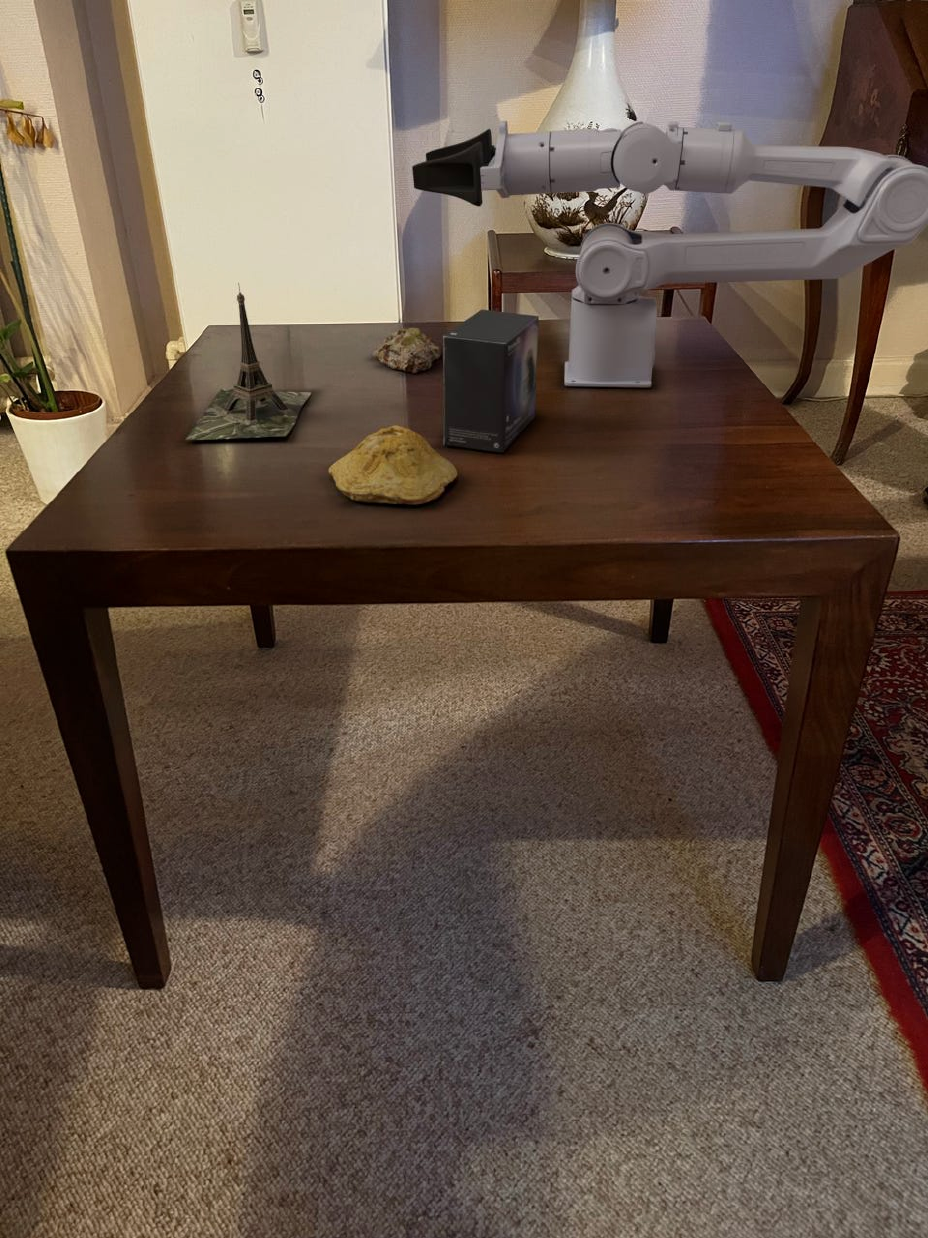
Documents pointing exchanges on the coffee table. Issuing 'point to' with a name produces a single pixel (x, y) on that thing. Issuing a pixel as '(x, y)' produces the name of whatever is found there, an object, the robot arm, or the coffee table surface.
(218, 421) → the eiffel tower figurine
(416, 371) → the mineral rock
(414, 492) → the fossil
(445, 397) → the small box
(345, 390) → the coffee table surface
